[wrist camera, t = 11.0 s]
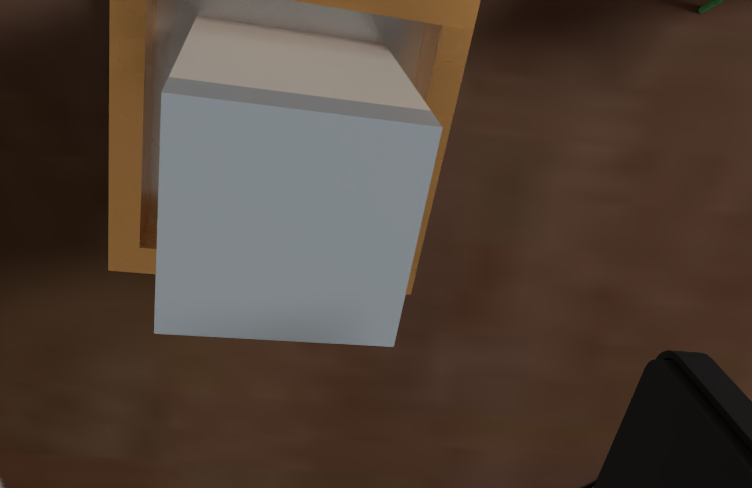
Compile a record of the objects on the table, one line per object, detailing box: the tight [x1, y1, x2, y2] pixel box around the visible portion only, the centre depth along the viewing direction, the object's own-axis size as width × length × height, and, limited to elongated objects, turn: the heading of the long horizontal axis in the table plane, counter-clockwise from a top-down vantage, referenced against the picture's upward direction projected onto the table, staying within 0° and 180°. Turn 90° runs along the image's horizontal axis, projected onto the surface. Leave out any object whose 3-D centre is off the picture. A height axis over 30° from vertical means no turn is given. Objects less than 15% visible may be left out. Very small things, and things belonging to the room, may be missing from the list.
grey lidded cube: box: [154, 16, 443, 347], centre depth 16 cm, size 5×5×7 cm
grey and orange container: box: [108, 0, 481, 295], centre depth 23 cm, size 12×12×12 cm
